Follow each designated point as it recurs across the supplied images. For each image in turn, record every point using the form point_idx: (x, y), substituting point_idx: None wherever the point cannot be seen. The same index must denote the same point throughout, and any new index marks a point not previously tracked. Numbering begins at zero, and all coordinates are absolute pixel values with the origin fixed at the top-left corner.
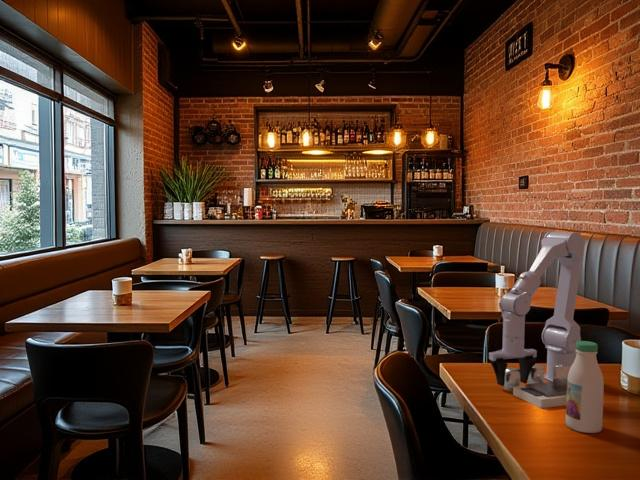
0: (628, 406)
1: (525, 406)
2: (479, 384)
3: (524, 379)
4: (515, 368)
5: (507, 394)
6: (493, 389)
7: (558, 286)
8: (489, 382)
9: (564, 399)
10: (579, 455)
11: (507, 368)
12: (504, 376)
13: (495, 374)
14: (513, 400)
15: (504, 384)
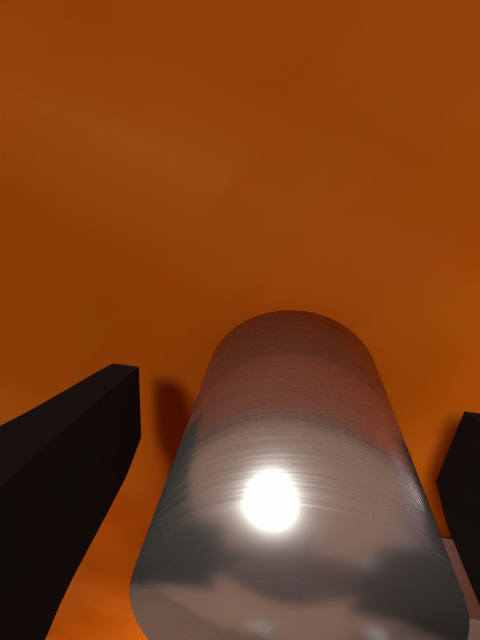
0: None
1: (106, 633)
2: (10, 106)
3: (460, 514)
4: (416, 615)
5: (132, 472)
6: (85, 330)
7: None
8: (196, 77)
9: None
10: None
11: (242, 552)
12: (72, 563)
13: (13, 421)
14: (96, 559)
15: (202, 383)
